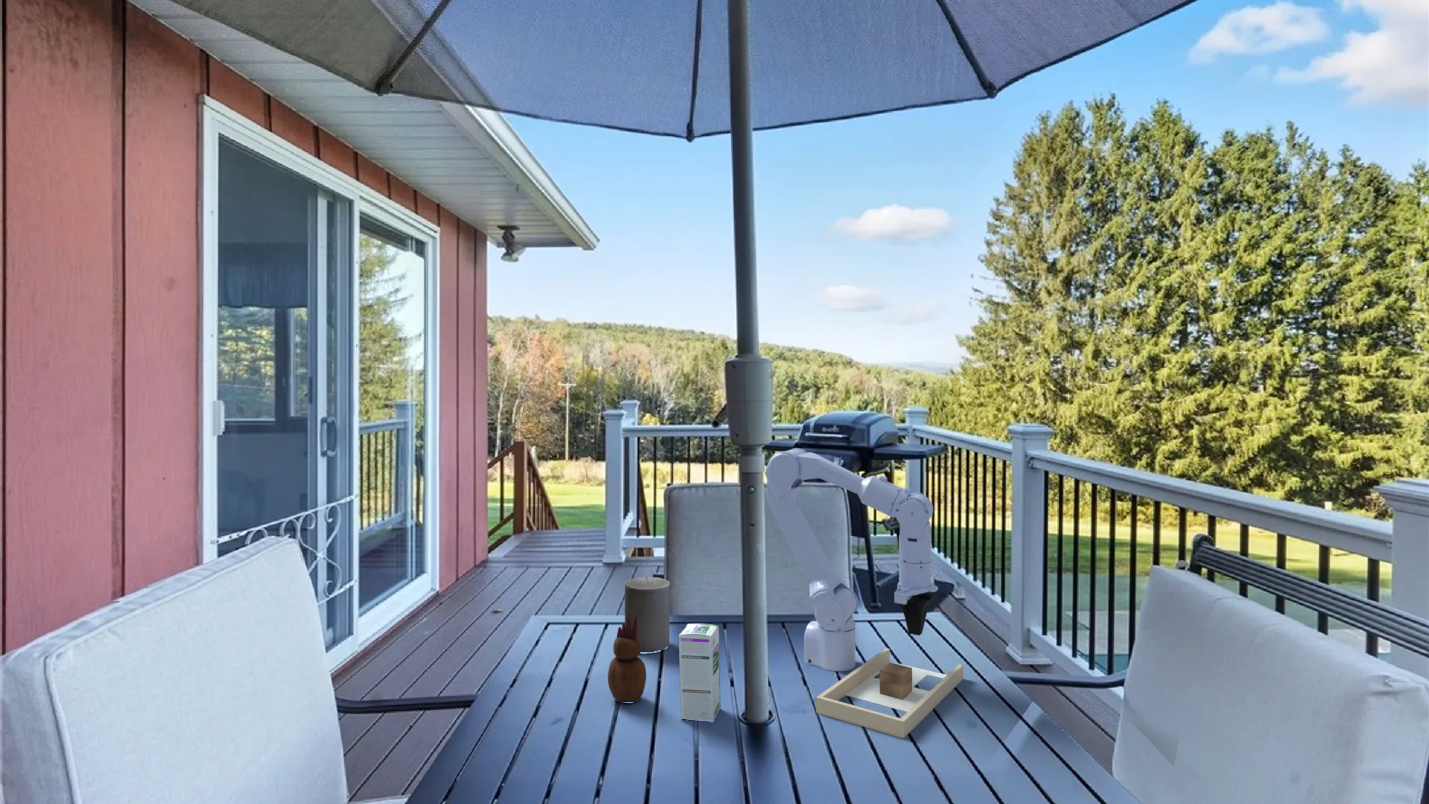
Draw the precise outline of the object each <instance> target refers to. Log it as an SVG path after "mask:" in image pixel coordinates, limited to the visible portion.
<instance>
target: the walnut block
mask: <svg viewBox="0 0 1429 804" xmlns="http://www.w3.org/2000/svg"><path fill="white" fill-rule="evenodd" d="M894 663H895V662H893V663H888V664H887V665H885V666H884V667H883V668H881V669H880V673H879V679H880V694H882V695H886V696H890V697H894V698H898V699H901V700H903V699H904V698H905V697H907V696H908V695H909V694H910V693H911V692H912V668H911V667H912V666H911V667H907V666H908V665H906V666H902V665H903V664H902V665H898V664H899V663H898V664H894Z"/></svg>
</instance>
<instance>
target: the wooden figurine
mask: <svg viewBox="0 0 1429 804" xmlns="http://www.w3.org/2000/svg"><path fill="white" fill-rule="evenodd" d="M612 650H613V655H614V656H615V657H613V659H612V660H611V661H610V663H609V666H608V670H607V683H608V688H609V690H610V694H611V695H612V697H613V698H614V700H616V701H617V702H618V701H620V702H619V703H621V702H634V703H636V701H637V702H638V701H639V700H640V699H641V698H642V697H643V694H644V691H645V688H646V681H647V670H646V665H645V663H644V661H643V659H642V658H641V657H639V655H640V654H639V653H640V641H639V639H638V638H637V616H635V619H634V622H633V626H632V630H631V625H630V620H629V618H627V625H626V628H625V622H624V623H622V625H621V626H619V627H617V633H616V638H615V639H614V643H613V648H612Z"/></svg>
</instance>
